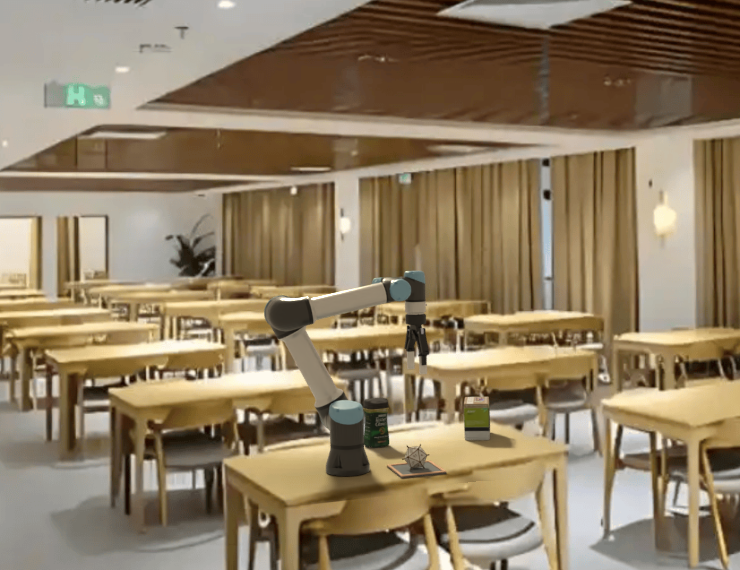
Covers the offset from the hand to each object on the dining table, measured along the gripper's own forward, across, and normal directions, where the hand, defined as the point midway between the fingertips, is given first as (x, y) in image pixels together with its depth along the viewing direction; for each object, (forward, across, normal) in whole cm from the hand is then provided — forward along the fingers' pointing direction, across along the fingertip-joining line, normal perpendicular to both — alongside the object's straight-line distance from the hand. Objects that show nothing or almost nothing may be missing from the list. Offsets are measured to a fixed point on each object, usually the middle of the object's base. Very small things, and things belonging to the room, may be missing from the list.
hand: (417, 371), depth 332 cm
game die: (+30, -20, +8) cm, 37 cm away
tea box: (+31, +21, -32) cm, 49 cm away
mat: (+31, -20, +8) cm, 38 cm away
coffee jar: (+31, +20, +10) cm, 38 cm away
